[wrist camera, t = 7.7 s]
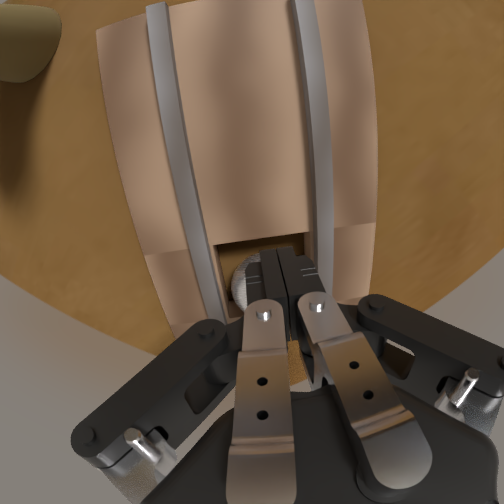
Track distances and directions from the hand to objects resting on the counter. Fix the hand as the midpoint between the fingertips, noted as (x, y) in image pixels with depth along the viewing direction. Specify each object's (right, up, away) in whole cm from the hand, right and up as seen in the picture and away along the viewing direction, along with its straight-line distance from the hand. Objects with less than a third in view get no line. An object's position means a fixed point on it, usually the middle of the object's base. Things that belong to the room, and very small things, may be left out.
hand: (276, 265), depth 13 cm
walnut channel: (-1, +5, +5) cm, 7 cm away
